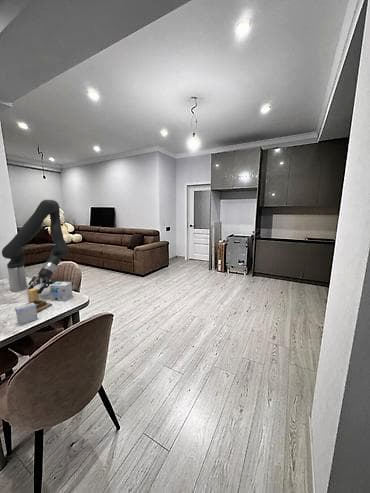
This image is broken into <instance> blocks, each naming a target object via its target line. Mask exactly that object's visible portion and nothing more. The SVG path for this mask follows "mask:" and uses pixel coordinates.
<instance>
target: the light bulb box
mask: <svg viewBox="0 0 370 493" xmlns="http://www.w3.org/2000/svg"><path fill="white" fill-rule="evenodd" d="M72 285H73V284H72V281H55V282H53V283H50V285H49V289H50V298H51V299H50V300H51V301H53V302H54V301H56V302H57V301H58V302H68V301H69V300H70V299H72V298H73V297H74V294H73V286H72Z"/></svg>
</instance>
